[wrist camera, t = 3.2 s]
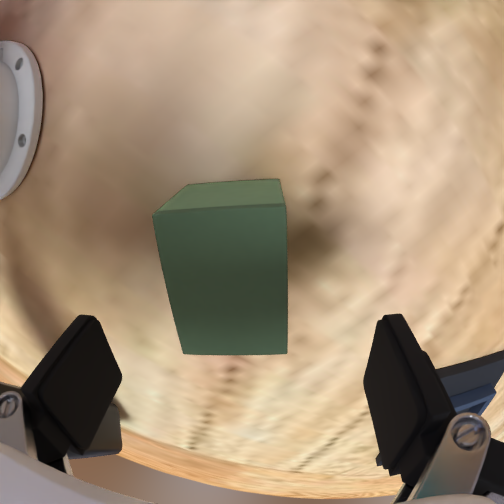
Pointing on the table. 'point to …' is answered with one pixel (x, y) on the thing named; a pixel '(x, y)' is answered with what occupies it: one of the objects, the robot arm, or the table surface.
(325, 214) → the table surface
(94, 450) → the wine bottle
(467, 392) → the black pad
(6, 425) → the robot arm
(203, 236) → the green block
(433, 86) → the table surface
